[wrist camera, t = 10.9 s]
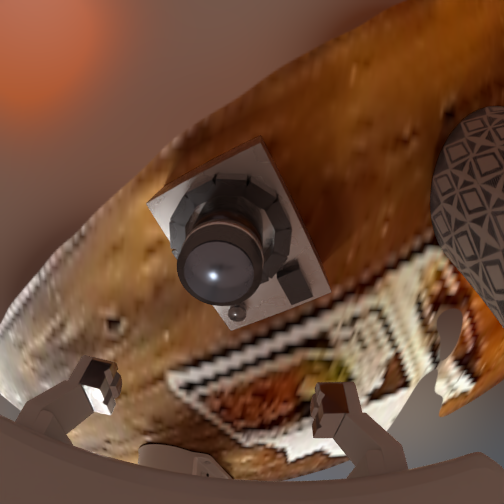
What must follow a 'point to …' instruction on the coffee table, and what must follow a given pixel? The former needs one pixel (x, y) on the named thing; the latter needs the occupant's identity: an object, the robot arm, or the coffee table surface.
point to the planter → (473, 203)
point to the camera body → (274, 228)
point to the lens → (223, 252)
